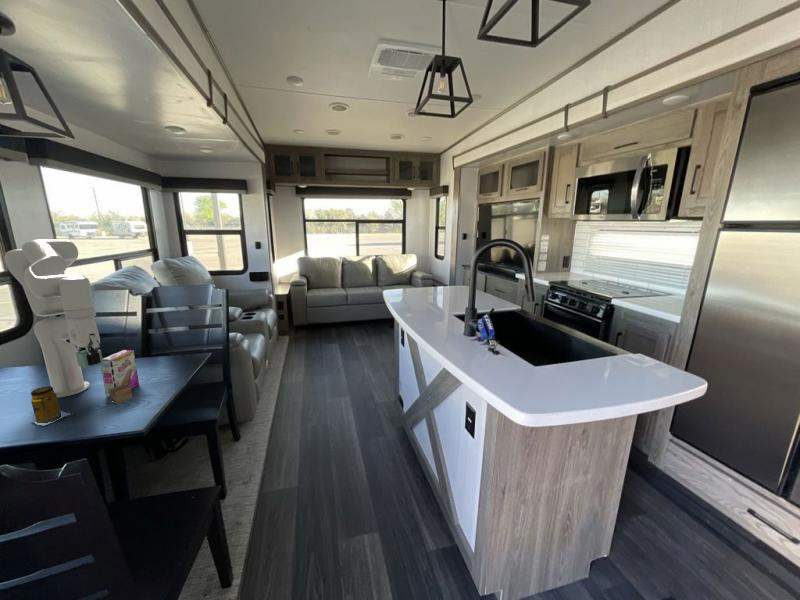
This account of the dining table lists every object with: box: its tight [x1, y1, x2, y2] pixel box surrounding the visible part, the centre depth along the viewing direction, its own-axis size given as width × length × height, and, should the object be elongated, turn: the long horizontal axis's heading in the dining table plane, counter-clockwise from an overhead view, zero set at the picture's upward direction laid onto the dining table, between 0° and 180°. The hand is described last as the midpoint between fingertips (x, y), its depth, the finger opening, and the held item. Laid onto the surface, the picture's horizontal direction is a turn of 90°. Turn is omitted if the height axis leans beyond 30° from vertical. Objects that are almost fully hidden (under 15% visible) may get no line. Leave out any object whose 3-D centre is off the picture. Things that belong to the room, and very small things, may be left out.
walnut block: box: [109, 384, 133, 405], centre depth 129 cm, size 5×5×5 cm
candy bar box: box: [100, 349, 140, 398], centre depth 134 cm, size 11×5×16 cm, turn 178°
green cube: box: [76, 348, 103, 370], centre depth 114 cm, size 5×5×5 cm
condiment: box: [30, 385, 74, 423], centre depth 114 cm, size 7×8×12 cm
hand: (90, 362), depth 114 cm, fingers closed on green cube, 4 cm apart
